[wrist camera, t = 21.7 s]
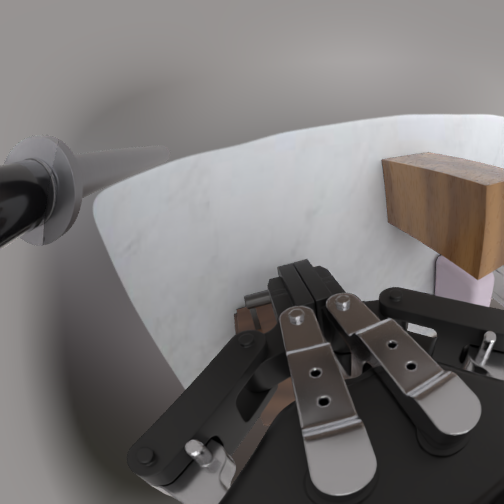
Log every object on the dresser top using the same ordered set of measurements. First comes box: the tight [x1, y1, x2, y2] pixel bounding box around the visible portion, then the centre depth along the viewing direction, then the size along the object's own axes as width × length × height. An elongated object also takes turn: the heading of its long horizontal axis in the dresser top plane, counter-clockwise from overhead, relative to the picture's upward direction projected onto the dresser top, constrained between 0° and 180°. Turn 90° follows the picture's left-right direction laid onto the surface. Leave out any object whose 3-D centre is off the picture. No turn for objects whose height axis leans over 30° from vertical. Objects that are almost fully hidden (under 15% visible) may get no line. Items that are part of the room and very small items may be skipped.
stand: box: [382, 152, 504, 280], centre depth 23 cm, size 8×8×16 cm
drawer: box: [237, 290, 277, 334], centre depth 31 cm, size 17×10×7 cm, turn 13°
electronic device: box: [435, 255, 494, 307], centre depth 32 cm, size 10×5×10 cm, turn 19°
